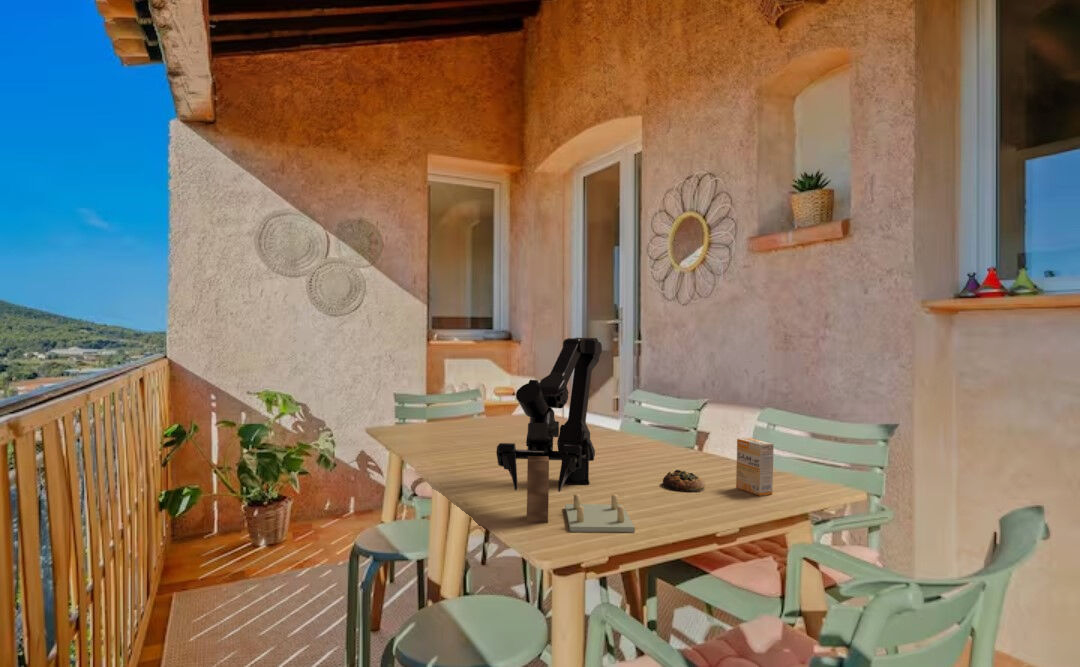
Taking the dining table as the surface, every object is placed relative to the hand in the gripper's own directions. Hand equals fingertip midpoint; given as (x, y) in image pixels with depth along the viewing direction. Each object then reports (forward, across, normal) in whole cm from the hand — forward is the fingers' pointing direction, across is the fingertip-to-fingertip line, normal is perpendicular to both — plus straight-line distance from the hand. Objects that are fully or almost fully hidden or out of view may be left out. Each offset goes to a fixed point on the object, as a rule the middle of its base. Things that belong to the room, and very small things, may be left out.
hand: (537, 490), depth 119 cm
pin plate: (+3, +13, +6) cm, 15 cm away
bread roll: (-18, +37, +28) cm, 49 cm away
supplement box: (-16, +54, +25) cm, 62 cm away
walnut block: (+4, 0, +6) cm, 7 cm away
